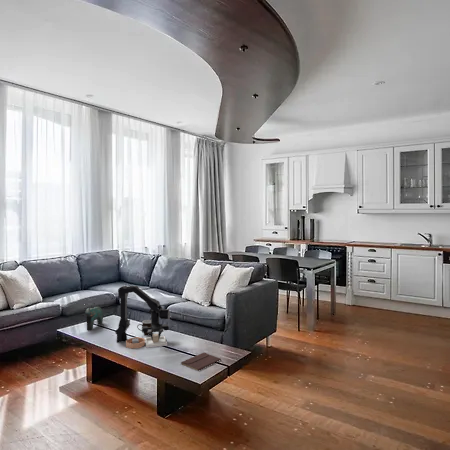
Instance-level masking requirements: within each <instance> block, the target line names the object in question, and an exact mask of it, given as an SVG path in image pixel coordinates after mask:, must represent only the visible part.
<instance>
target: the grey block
mask: <svg viewBox="0 0 450 450" xmlns="http://www.w3.org/2000/svg"><path fill="white" fill-rule="evenodd" d="M135 338H136V337H135ZM134 343H139V340H138V338H136V339H132V344H134Z"/></svg>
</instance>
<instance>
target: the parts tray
mask: <svg viewBox="0 0 450 450" xmlns="http://www.w3.org/2000/svg"><path fill="white" fill-rule="evenodd" d="M144 339H145V346H146V348H155V347H156V348H157V347H163V346H168V342H167V339H166V336H165V335H160V338H159V342H153V341H152V339H151V336H149V337H148V336H147V337H145V338H144Z"/></svg>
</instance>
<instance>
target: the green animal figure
mask: <svg viewBox="0 0 450 450" xmlns="http://www.w3.org/2000/svg"><path fill="white" fill-rule="evenodd" d="M93 305H95V303H94V302H93V303H91V307H88V308H86V310H85V313H84V314H85V316H86V331H93V329H94V324H95V320H96V322H97V325H99V324H100V325H102V324H103V322H104V312H103V309H102V307H101V305H99V304H98V305H95V306H93Z"/></svg>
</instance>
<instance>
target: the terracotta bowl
mask: <svg viewBox="0 0 450 450" xmlns="http://www.w3.org/2000/svg"><path fill="white" fill-rule="evenodd" d="M136 338H138V340H139V343H134V344H132V339H136ZM144 346H146V342H145V338H143V337H141V336H140V337H139V336H138V337H130V338H129V339H128V338H127V340H126V342H125V348H129V349H140V348H142V347H144Z"/></svg>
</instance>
